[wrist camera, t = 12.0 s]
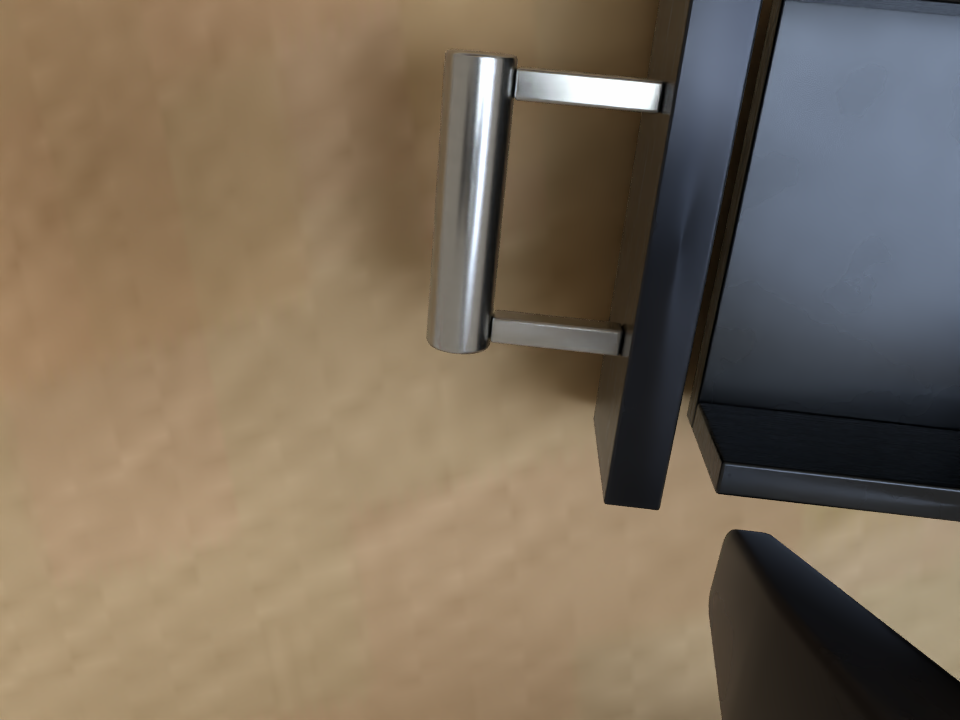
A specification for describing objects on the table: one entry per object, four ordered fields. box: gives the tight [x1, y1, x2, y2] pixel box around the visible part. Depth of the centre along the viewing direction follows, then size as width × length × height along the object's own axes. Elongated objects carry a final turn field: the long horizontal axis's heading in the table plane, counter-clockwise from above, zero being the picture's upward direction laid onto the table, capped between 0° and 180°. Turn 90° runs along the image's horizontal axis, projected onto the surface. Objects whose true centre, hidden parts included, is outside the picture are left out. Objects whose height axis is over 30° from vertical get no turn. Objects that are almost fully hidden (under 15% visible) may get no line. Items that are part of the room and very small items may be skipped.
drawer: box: [427, 0, 960, 522], centre depth 17 cm, size 16×12×4 cm
